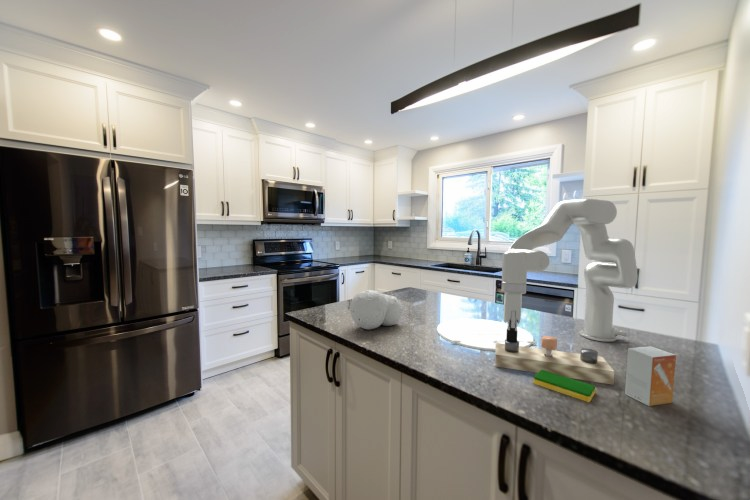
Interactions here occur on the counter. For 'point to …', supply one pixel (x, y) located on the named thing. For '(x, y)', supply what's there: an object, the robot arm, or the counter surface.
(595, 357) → the near knob
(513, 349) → the far knob
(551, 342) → the middle knob
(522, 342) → the lazy susan
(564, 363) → the knob mount
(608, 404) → the counter surface
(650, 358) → the small box
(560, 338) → the counter surface
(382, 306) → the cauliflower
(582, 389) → the dish sponge
